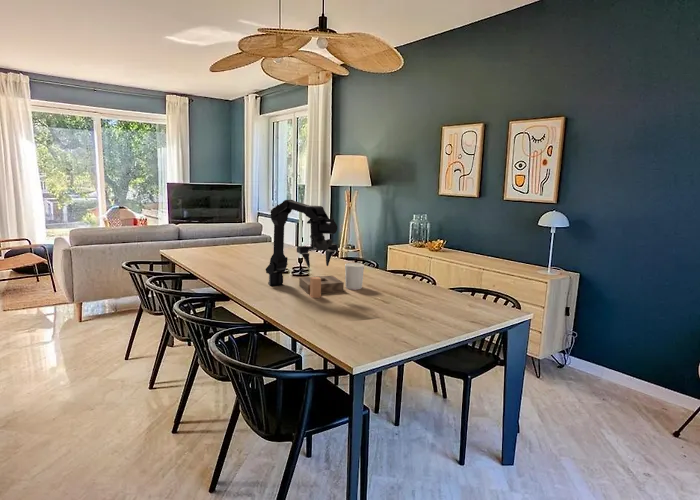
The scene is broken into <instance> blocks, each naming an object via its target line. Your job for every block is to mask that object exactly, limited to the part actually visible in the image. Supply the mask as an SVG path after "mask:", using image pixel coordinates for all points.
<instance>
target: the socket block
mask: <svg viewBox="0 0 700 500" xmlns="http://www.w3.org/2000/svg"><path fill="white" fill-rule="evenodd" d="M310 277H311V276H299V279H298V280H299V285H298V287H300V288H301V289H302V290H303V291H304V292H306V294H307V295H310ZM314 277H320V278H321V294H328V293H341V292H344V289H345V287H344V284H345V283H344V282H343V281H342V280H341V279H339V278H338V277H336V276H334V275H319V276H318V275H317V276H314Z"/></svg>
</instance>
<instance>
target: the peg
mask: <svg viewBox="0 0 700 500" xmlns="http://www.w3.org/2000/svg"><path fill="white" fill-rule="evenodd" d="M309 277H310V294H309V296H310V297H311V298H312V299H319V298H321V297H322V293H321V278H320V277H315V276H309Z"/></svg>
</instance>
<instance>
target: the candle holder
mask: <svg viewBox="0 0 700 500" xmlns="http://www.w3.org/2000/svg"><path fill="white" fill-rule="evenodd" d="M344 270H345V271H344V272H345V275H344V277H345V278H344V279H345V288H346V289H347V290H355V291H356V290H357V291H358V290H361V289H362V288H363V279H364V270H365V264H364V263H360V262H347V263H345V264H344Z"/></svg>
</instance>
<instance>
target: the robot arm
mask: <svg viewBox="0 0 700 500" xmlns="http://www.w3.org/2000/svg"><path fill="white" fill-rule="evenodd" d="M292 210H293V211H296V212H299V213H302V214H304V215H305V217H307V218H309V219H308V220H307V222H306V224H310V235H309V238H310V246H307V245H298V246H297V247H296V253H298V254H299V255H301V256H302V258H303V259H304V261H305V264H306V266H307V268H309V269H310V266H311V265H310V264H311V263H310V253H309V252H313V251H320V252H321V251H325V264H326V266H327V267H328V266H329V265H330V261H331V257H332V256H333V254H334V253H337V251H339V246H338V244H337V243H333V240H332V239H331V238H329V239H326V238H325V235H324V234H326V235H328V234H329V235H335V234H336V233H337V231H338V225H337V223H336V221H335V218H329V216H328V215H327V213H326V210H325V208H324V206H322V205H309V204H307V203H302V202H299V201H296V200H294V199H285V200H283V201H282V202H281V203H279V204H278V205H276V206H275V207H273V208H272V209H271V210H270V220H271V222H272V224H273V229H274V230H273V253H272V255H271V257H270V258H269V264H268V265H267V267H266V268H265V273H266V274H268V282H267V284H268V285H269V287H274V286H276V287H279V286H284V274H283V273H285V272H286V268H287V266H288V264H289V263H288V257H287V256H285V253H284V250H285V249H284V247H285V244H284V243H285V241H284V240H285V225H286V223H287V222H288V219H289V218H288V217H289V214H291V213H292Z"/></svg>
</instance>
